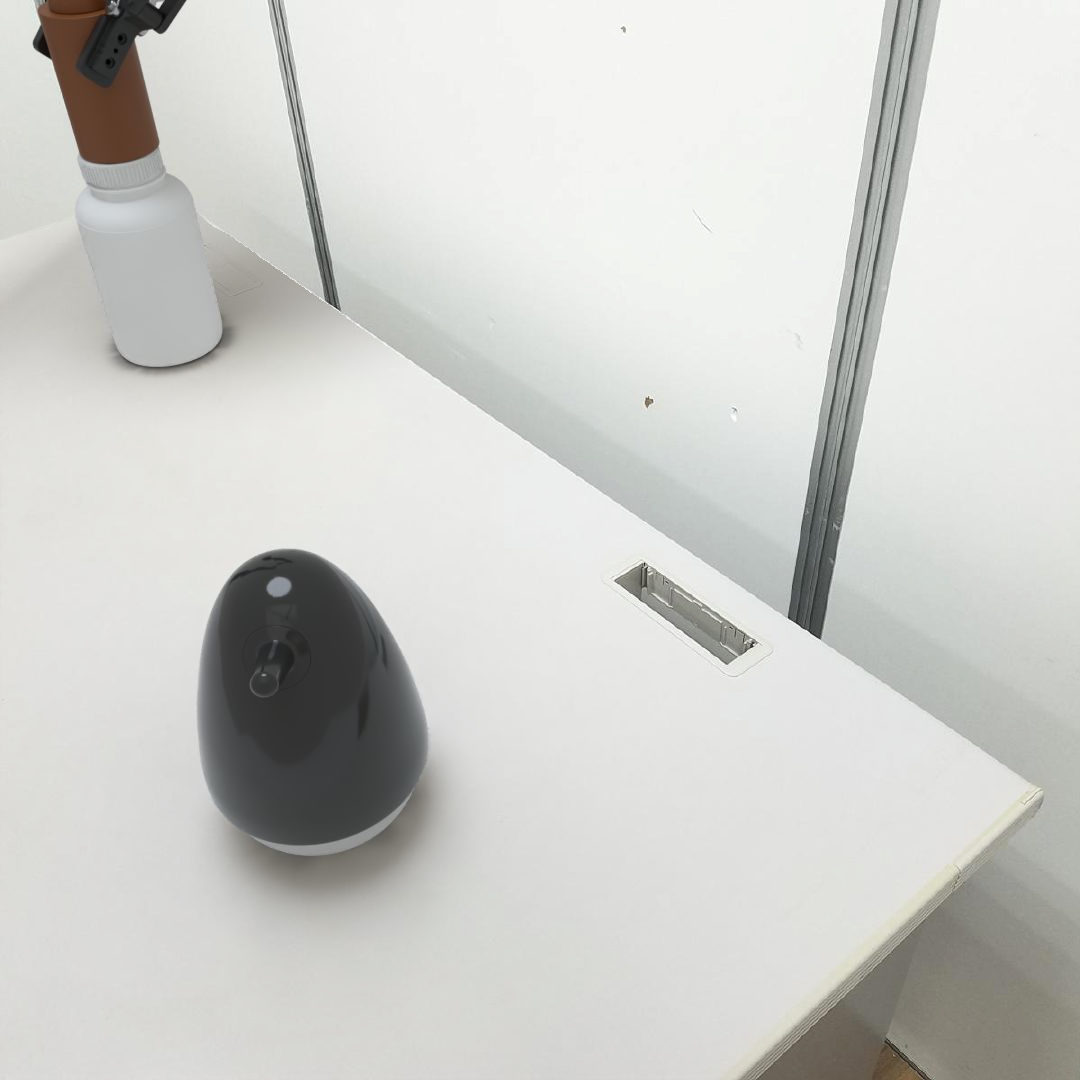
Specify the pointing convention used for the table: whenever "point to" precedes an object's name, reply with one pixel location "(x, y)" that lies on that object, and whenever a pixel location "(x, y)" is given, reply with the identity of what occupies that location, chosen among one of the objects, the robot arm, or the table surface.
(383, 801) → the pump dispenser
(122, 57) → the robot arm
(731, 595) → the table surface
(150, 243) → the pill bottle
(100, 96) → the amber bottle
